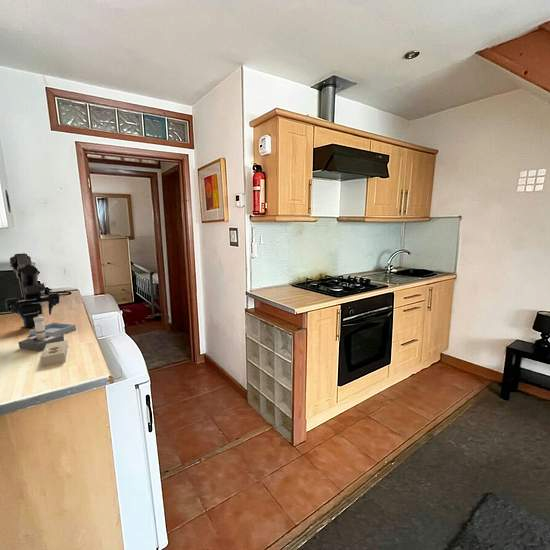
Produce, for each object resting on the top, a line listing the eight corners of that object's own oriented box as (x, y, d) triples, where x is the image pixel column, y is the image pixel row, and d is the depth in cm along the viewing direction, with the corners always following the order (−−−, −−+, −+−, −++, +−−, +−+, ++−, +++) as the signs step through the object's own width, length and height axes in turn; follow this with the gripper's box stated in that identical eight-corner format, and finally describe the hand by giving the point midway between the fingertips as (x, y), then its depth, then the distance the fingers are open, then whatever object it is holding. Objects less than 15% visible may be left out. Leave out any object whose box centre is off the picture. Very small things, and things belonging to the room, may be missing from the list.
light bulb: (35, 346, 128) (31, 318, 126) (43, 343, 131) (39, 315, 129) (41, 347, 127) (37, 318, 125) (49, 343, 130) (46, 316, 128)
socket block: (19, 348, 125) (18, 341, 125) (45, 339, 136) (44, 332, 135) (39, 351, 122) (38, 343, 122) (64, 341, 133) (63, 334, 132)
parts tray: (29, 335, 141) (29, 330, 141) (54, 327, 153) (53, 322, 152) (52, 337, 138) (52, 332, 137) (75, 329, 149) (75, 324, 149)
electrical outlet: (67, 338, 127) (64, 352, 112) (68, 347, 127) (65, 363, 112) (46, 341, 123) (40, 357, 108) (47, 351, 124) (41, 367, 108)
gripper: (2, 280, 126) (8, 311, 119) (56, 275, 139) (63, 302, 132) (4, 296, 132) (9, 325, 126) (55, 290, 145) (62, 316, 139)
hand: (37, 316), depth 131 cm, fingers open, 9 cm apart
